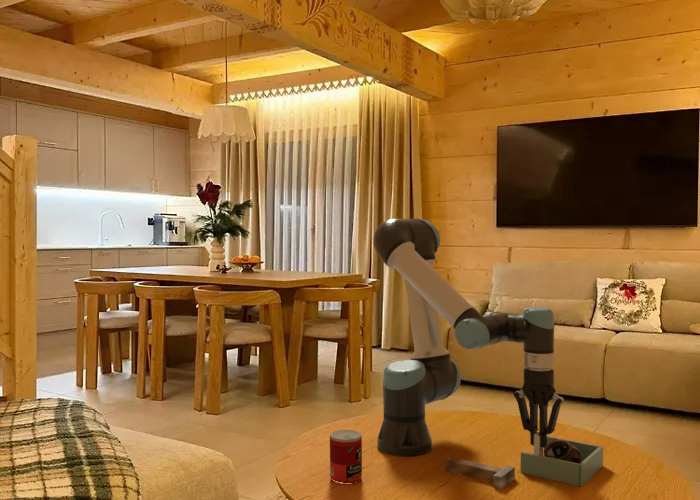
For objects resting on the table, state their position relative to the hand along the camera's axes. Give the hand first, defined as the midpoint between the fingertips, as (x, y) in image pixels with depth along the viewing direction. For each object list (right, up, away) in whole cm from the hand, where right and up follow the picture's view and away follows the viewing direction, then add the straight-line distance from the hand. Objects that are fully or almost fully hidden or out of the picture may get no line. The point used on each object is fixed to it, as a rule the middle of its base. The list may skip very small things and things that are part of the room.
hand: (538, 458), depth 168 cm
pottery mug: (+5, -2, -2) cm, 6 cm away
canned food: (-50, -2, -9) cm, 51 cm away
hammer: (-17, -2, -8) cm, 19 cm away
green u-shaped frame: (+5, -2, -4) cm, 6 cm away
